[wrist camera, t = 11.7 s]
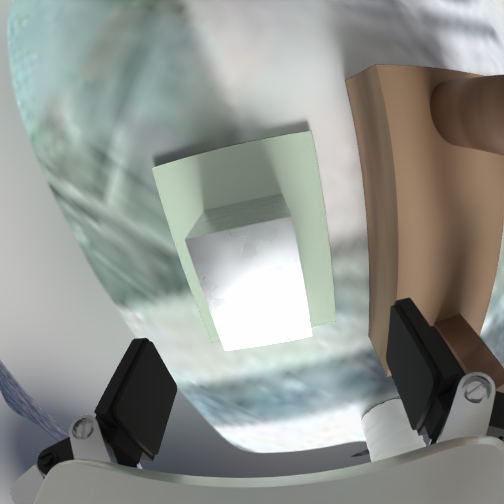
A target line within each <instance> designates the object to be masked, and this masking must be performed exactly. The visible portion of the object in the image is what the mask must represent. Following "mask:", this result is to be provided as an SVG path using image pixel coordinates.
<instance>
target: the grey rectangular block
mask: <svg viewBox="0 0 504 504" xmlns="http://www.w3.org/2000/svg"><path fill="white" fill-rule="evenodd" d="M185 242H186V245H187V248H188V251H189V254H190V257H191V260H192V263H193V266H194V269H195V272H196V274H197V277H198V280H199V283H200V286H201V288H202V291H203V294H204V297H205V299H206V302H207V305H208V308H209V310H210V313H211V316H212V318H213V321H214V323H215V326H216V329H217V331H218V334H219V336H220V339H221V341H222V344H223V346H224V349H225V351H227V350H234V349H241V348H248V347H255V346H261V345H267V344H273V343H279V342H284V341H290V340H295V339H300V338H305V337H310V336H312V335H311V328H310V321H309V314H308V307H307V300H306V294H305V288H304V281H303V275H302V269H301V263H300V258H299V252H298V246H297V241H296V235H295V230H294V224H293V219H292V215H291V213H290V210H289V208H288V206H287V203H286V201H285V198H284V196H283V194H282V193H281V194H276V195H271V196H266V197H262V198H257V199H252V200H248V201H243V202H239V203H234V204H230V205H226V206H221V207H217V208H213V209H209V210H205V211H203V212H202V214H201V215H200V217H199V218H198V220H197V221H196V223H195V224H194V226H193V227H192V229H191V231H190V232H189V234H188V235H187V237H186V238H185Z"/></svg>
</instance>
